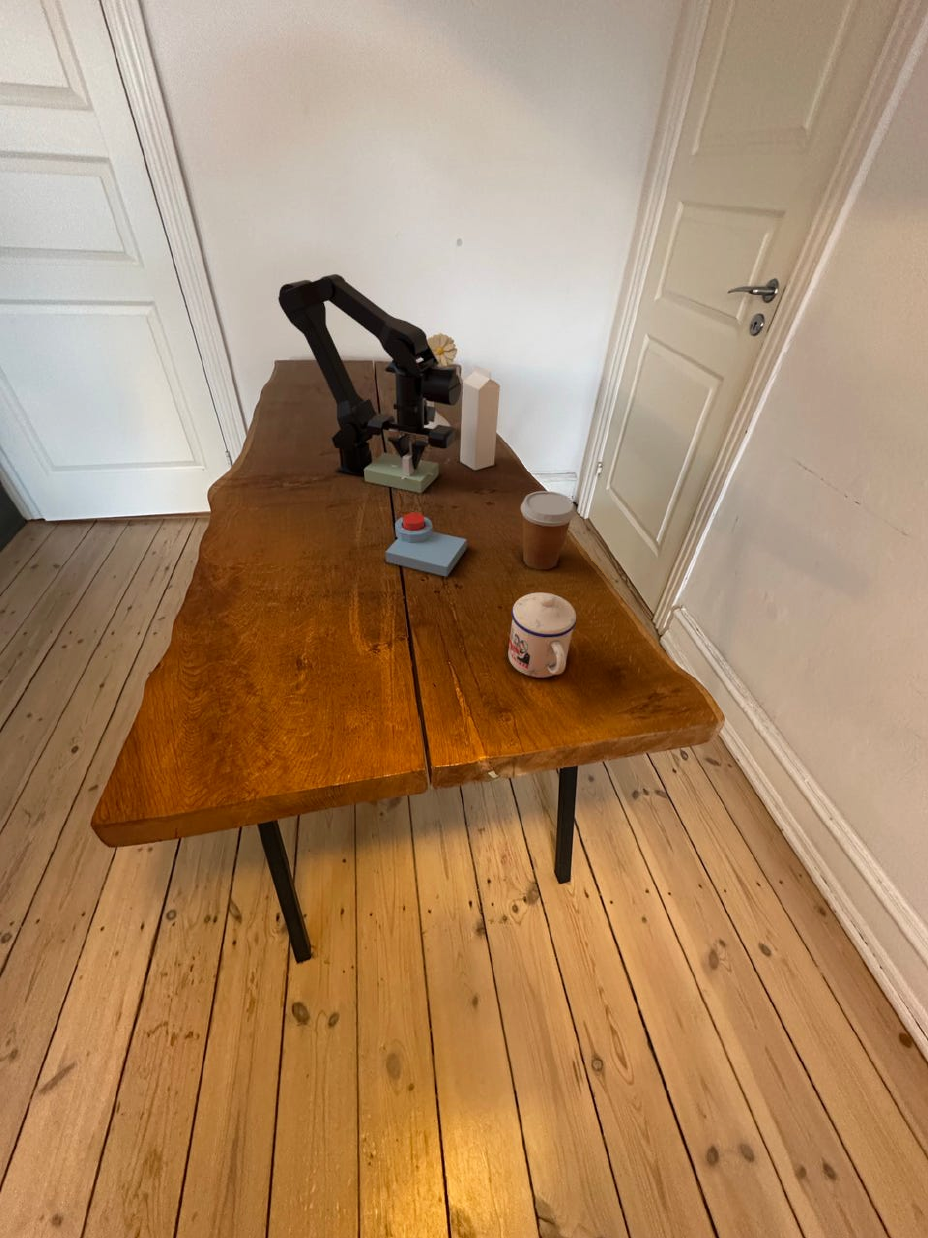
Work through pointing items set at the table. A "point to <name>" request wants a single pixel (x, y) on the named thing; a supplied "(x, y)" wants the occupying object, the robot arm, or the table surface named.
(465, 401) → the milk
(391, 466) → the panel
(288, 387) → the table surface
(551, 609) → the teacup with lid
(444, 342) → the flower in vase
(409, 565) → the button block
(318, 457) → the table surface
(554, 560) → the disposable coffee cup
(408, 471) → the tap handle
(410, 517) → the button
